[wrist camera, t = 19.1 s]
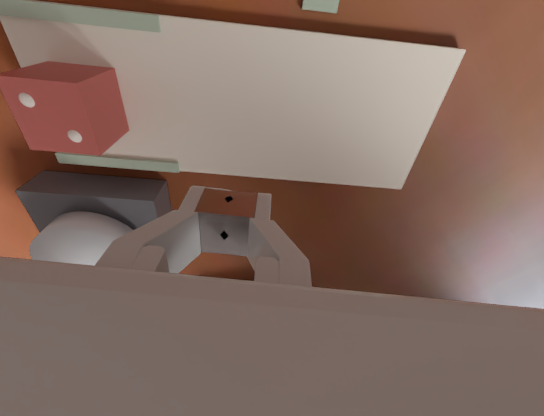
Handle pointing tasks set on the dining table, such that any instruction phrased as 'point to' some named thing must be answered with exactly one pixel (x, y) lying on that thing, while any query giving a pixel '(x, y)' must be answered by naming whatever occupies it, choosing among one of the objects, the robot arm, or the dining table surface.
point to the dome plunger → (77, 238)
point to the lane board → (247, 92)
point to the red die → (66, 106)
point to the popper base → (94, 197)
